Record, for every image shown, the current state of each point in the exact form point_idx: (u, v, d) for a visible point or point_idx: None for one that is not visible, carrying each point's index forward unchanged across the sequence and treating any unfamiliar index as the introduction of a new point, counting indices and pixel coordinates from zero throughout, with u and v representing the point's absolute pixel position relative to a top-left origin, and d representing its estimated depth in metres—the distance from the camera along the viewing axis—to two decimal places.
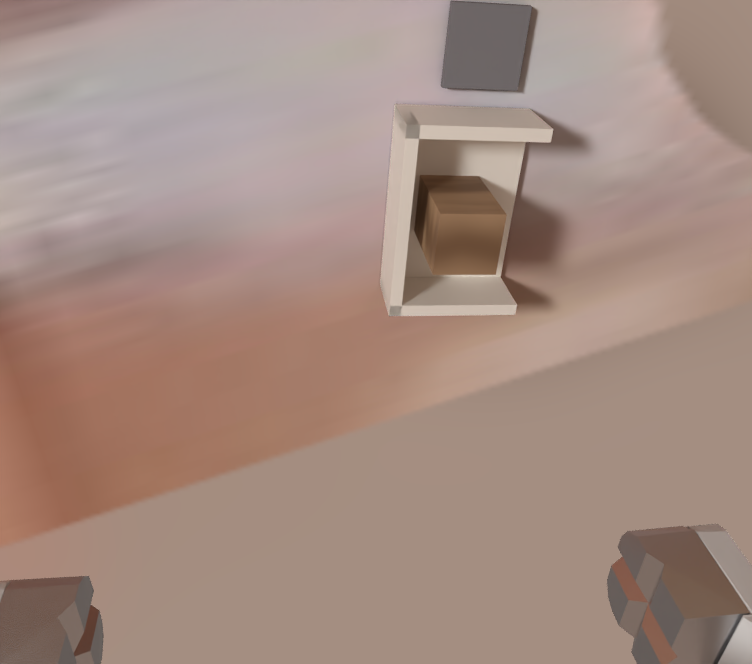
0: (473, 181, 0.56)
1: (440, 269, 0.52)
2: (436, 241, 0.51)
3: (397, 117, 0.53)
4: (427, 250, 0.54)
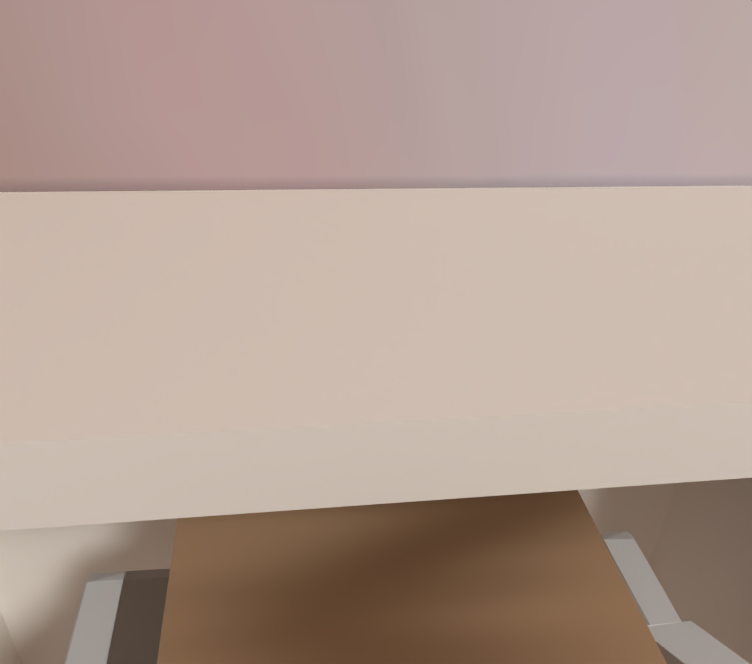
0: None
1: None
2: None
3: None
4: (243, 658, 0.07)
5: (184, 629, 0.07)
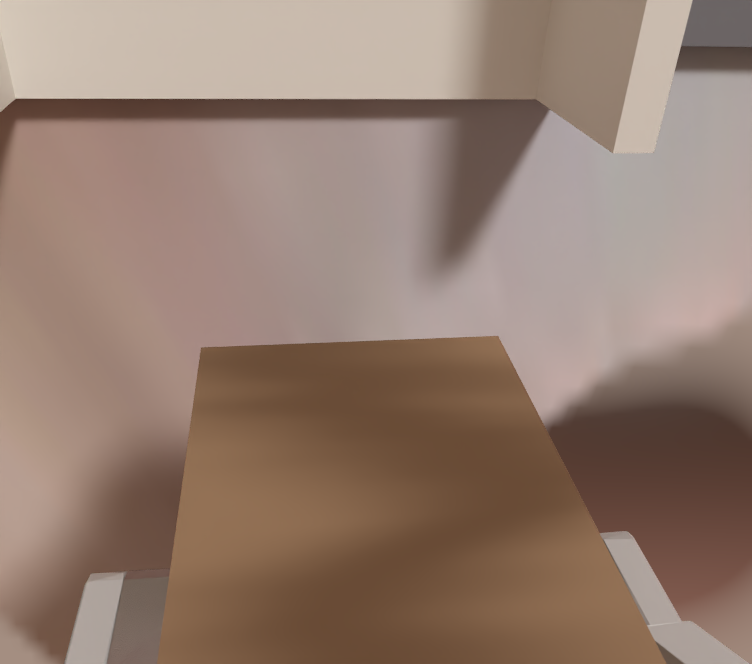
0: None
1: None
2: None
3: None
4: (243, 654, 0.07)
5: (184, 626, 0.07)
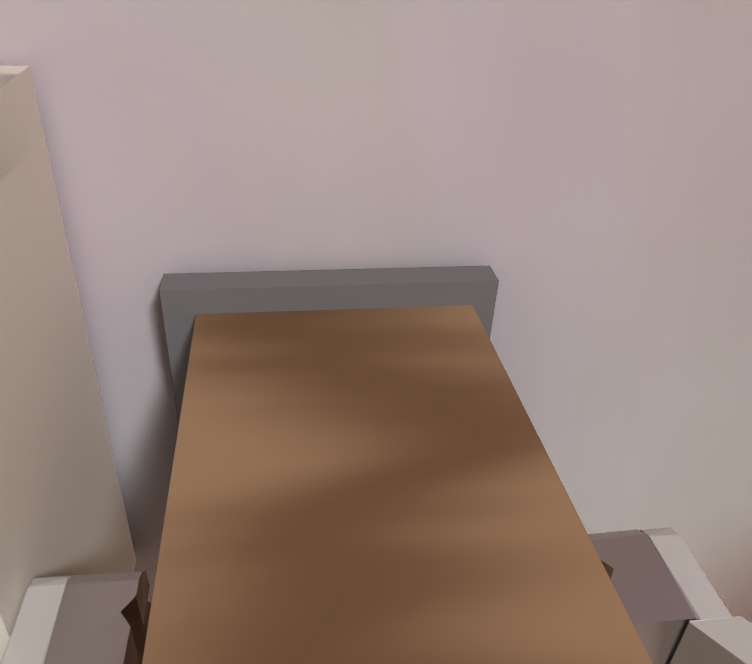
0: None
1: None
2: None
3: None
4: (232, 565, 0.08)
5: (181, 543, 0.08)
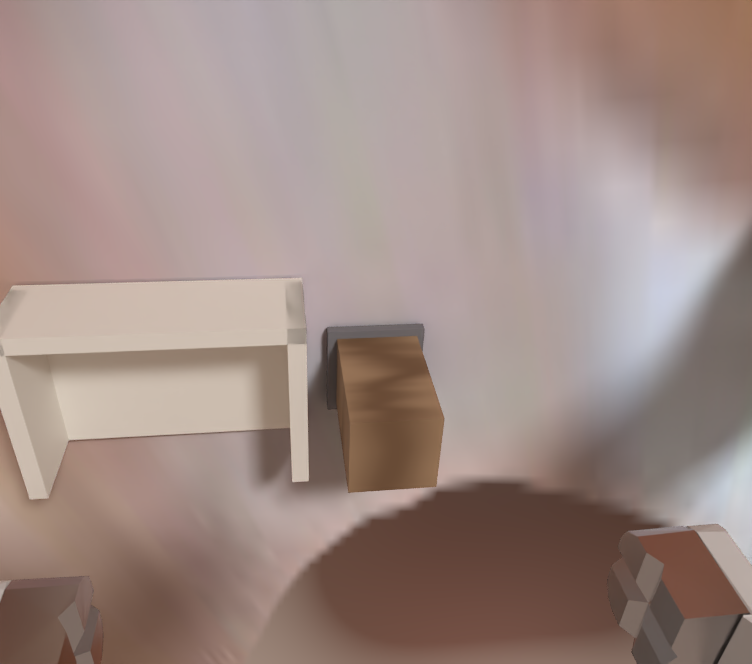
0: None
1: (359, 430, 0.36)
2: (401, 418, 0.36)
3: (292, 292, 0.39)
4: (360, 393, 0.38)
5: (349, 389, 0.38)
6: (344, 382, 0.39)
